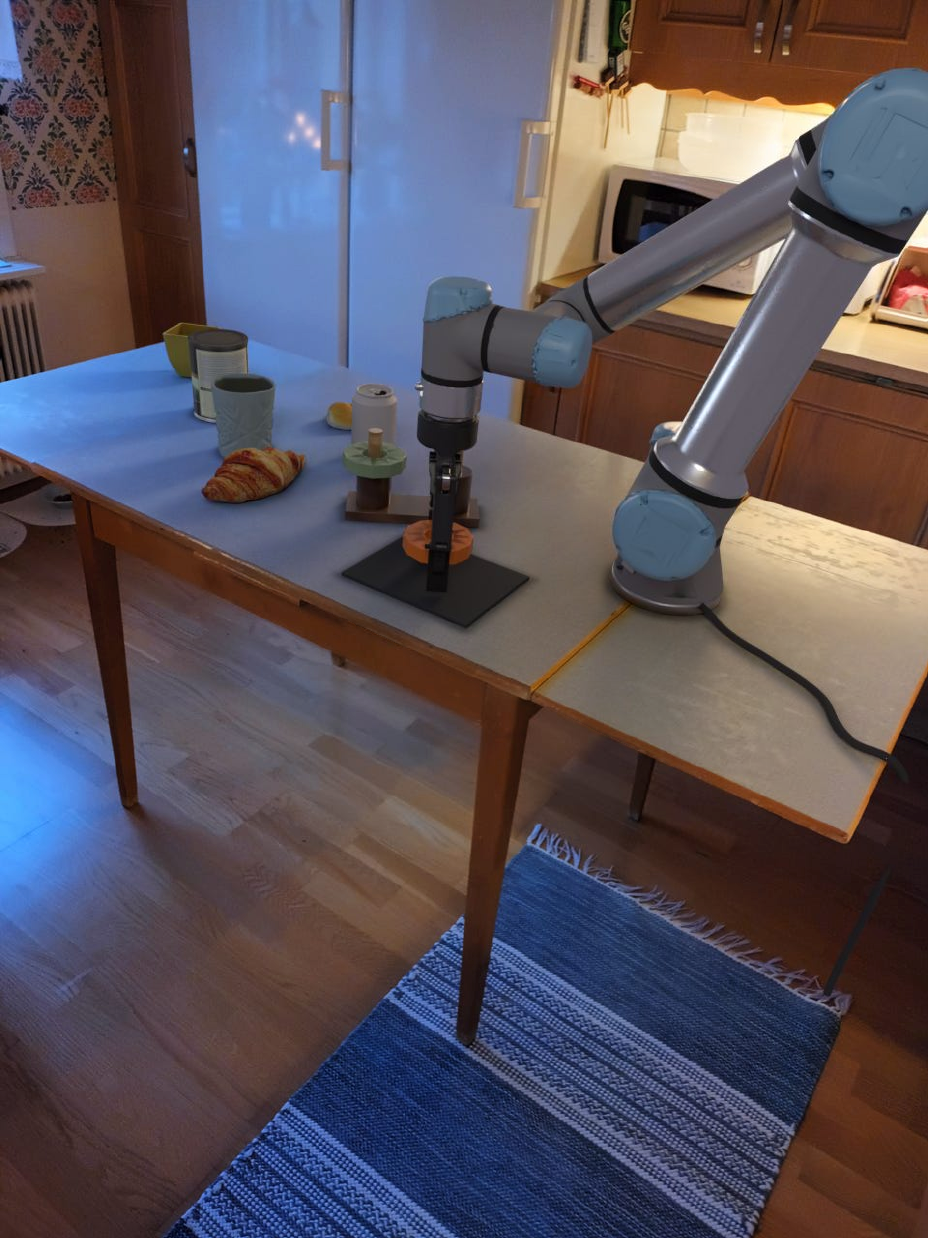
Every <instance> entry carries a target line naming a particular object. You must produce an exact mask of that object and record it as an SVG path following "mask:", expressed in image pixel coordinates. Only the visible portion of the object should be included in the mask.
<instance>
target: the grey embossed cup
mask: <svg viewBox="0 0 928 1238" xmlns="http://www.w3.org/2000/svg"><path fill="white" fill-rule="evenodd" d="M211 389H212V395H213V402H214V409H215V412H216V417H215V419H216V423H215V426H216V431H217V443H218V451H219V455H220V456H221V457H223V459H225V457H227V456H228V455H230V454H231V453H232V452H233V451H236V450H239V449H244V448H256V449H259V450H261V451H262V450H263V449H264V448H266V447H272V443H273V441H272V439H273V438H272V436H273V435H272V432H273V431H272V430H273V425H274V424H273V423H274V409H275V406H274V404H275V397H276V396H275V395H276V383H275V381H274V380H272V378H269V377H267V376H264V375H260V374H255V373H253V374H252V373H249V374H226V375H222V376H218V377H216V378H214V379H213V380H212V381H211Z"/></svg>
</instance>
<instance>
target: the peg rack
mask: <svg viewBox="0 0 928 1238" xmlns="http://www.w3.org/2000/svg"><path fill="white" fill-rule="evenodd" d="M457 453H460V461H461V472H460V474H459V476H458V491H457V494H456V495H455V501H454V515H453V522H454V523H457V524H459V525H461V526H463V527H465V528H473V529H479V528H480V527H479V526H480V513H479V512H480V511H479V503H478V499H477V498H471V492H472V481H473V470H472V468H470V467H468V466H466V465H463V463H464V453H465V451H460V452H457ZM368 457H370V458H382V430H381V429H379V428H371V429H369V436H368ZM392 477H393V476H392ZM392 477H389V478H367V477H362V476H357V475H356V482H355V485H356V486H355V487H356V488H355V490H356V491H352V490H351V491H349V490H348V492H347V497H346V503H345V509H344V521H357V522H369V523H371V522H373V523H390V524H406V525H411V524H414V523H416V522H419V521H423V520H428V519H429V509H433V507H430V505H429V502H430V500H431V497H430V496H431V495H418V494H417V495H416V494H400V493H398V494H397V493H392Z"/></svg>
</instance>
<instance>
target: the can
mask: <svg viewBox="0 0 928 1238" xmlns="http://www.w3.org/2000/svg"><path fill="white" fill-rule="evenodd" d="M394 393H395V390H394V389H393V388H392V387H390V386H388V385H386V384H381V383H363V384H360V385H358V386H357V387H356V388H355V393H354V394H353V395H352V396H351V403H352V424H351V430H350V431H351V433H350V435H351V436H350V441H351V442H350V445H352V444H355V443H359V442H368V436H369V429H371V428H379V429H381V430H382V442H383V443H389V444H393V445H395V446H396V441H397V440H396V438H397V437H396V435H397V414H398V398H397V396H396V395H395V394H394Z"/></svg>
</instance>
